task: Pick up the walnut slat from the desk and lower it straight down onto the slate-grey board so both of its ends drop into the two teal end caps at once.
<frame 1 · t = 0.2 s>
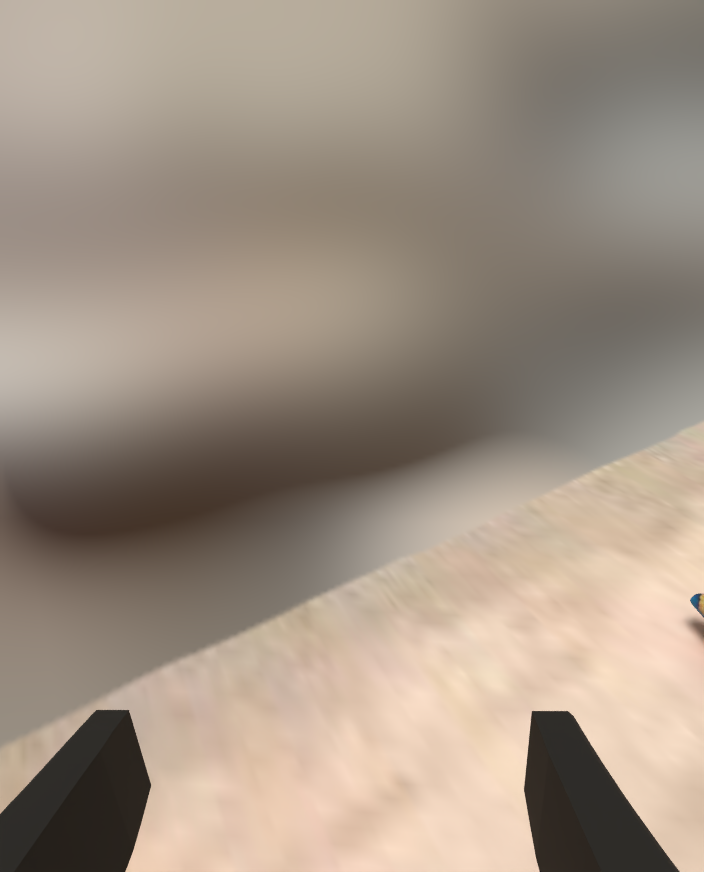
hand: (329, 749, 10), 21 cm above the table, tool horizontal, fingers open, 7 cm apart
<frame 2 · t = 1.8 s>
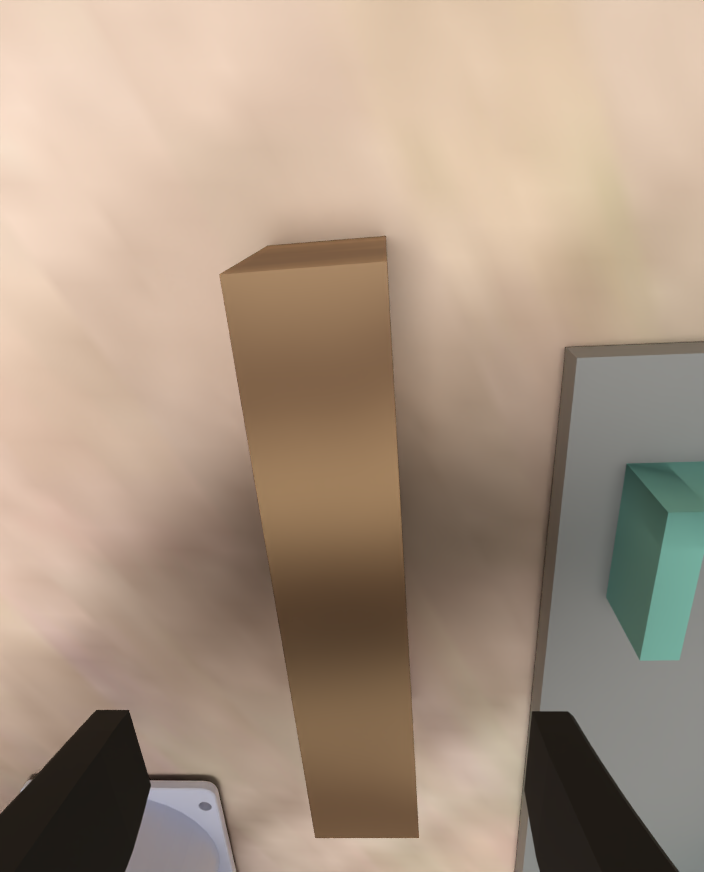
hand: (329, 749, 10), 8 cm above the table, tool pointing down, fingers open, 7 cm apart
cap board: (676, 702, 20), on the table
slat: (352, 508, 18), on the table
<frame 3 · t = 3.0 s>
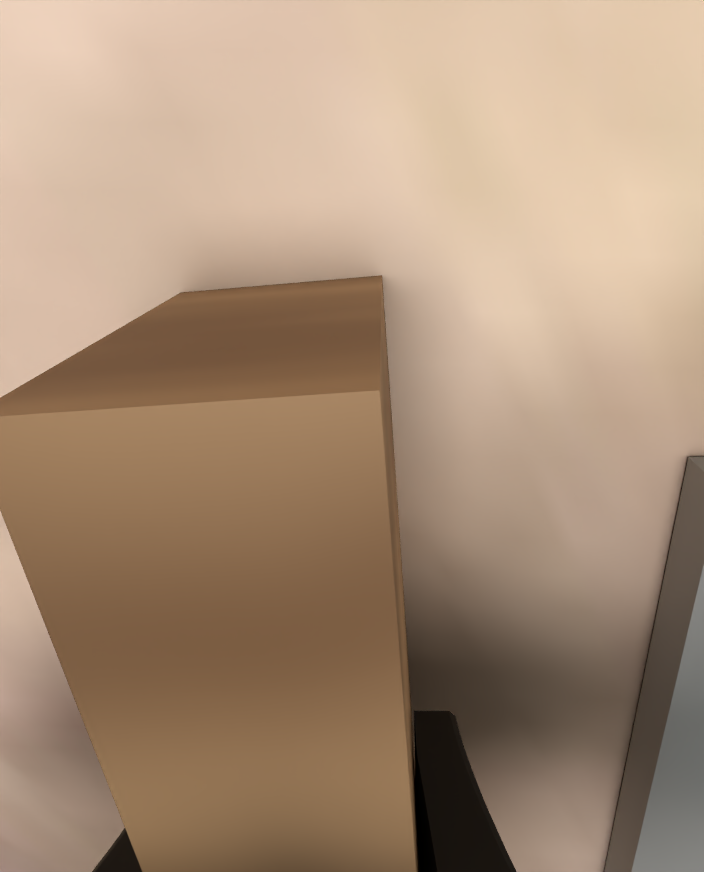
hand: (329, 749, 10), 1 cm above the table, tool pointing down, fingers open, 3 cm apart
slat: (335, 680, 12), on the table
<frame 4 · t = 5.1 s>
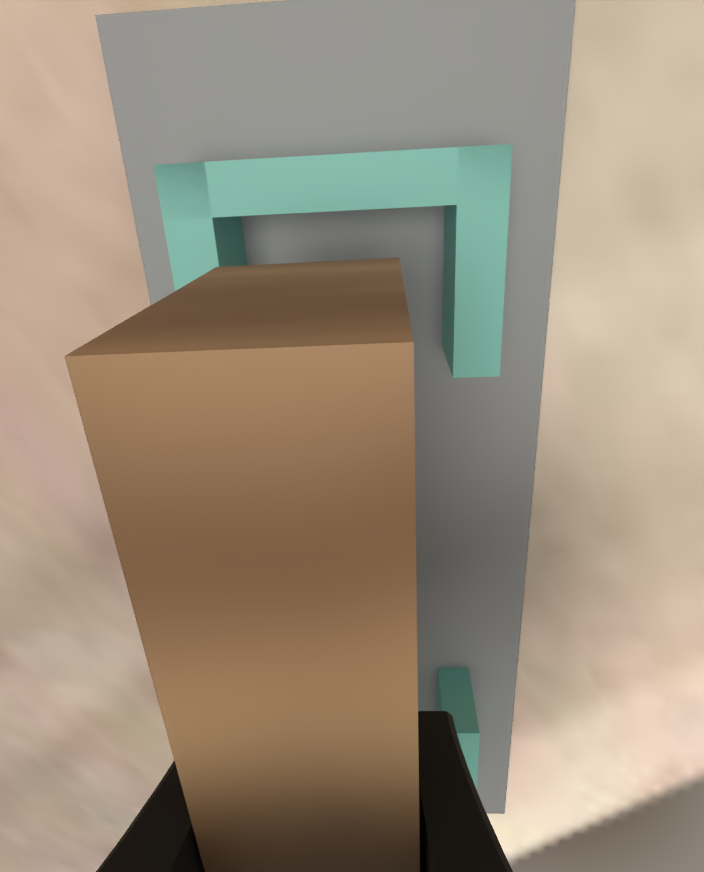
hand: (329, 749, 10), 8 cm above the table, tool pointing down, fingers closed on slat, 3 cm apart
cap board: (360, 511, 18), on the table
slat: (338, 637, 13), point 6 cm above the table, touching gripper
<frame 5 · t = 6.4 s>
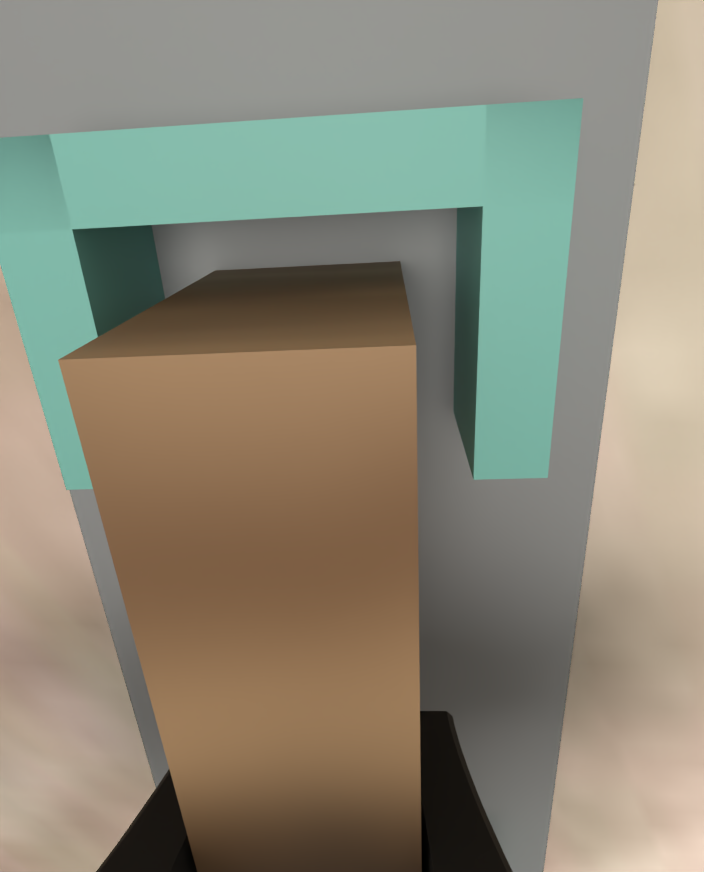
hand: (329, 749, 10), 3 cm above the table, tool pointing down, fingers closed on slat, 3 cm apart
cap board: (341, 617, 14), on the table
slat: (338, 645, 13), point 1 cm above the table, touching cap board, gripper
when the fingers open (3 cm above the table, at t = 6.8 s): slat stays where it is, resting on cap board.
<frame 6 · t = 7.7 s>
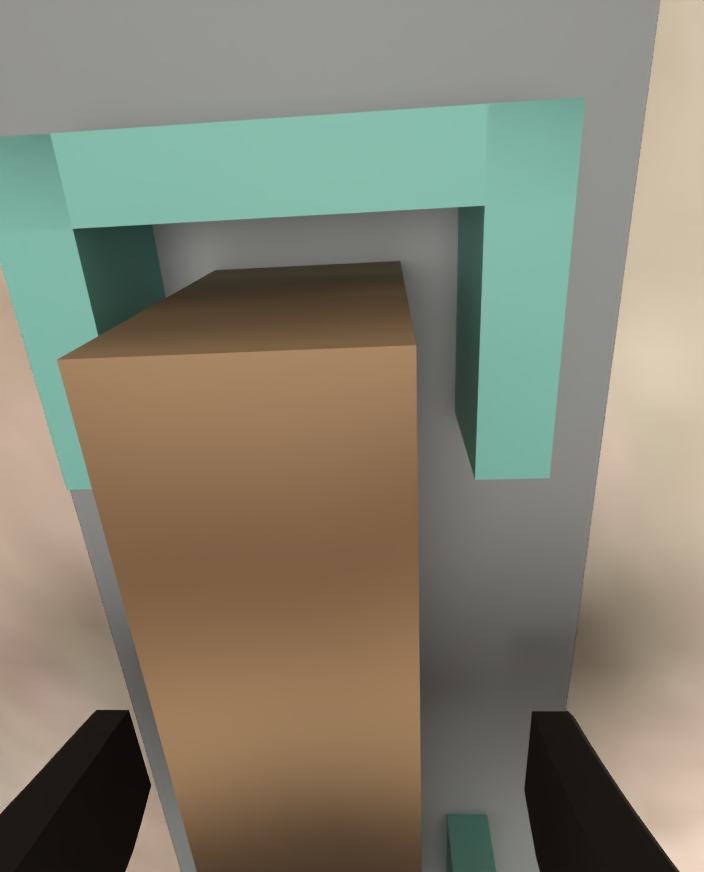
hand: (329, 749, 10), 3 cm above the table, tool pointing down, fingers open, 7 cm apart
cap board: (342, 617, 14), on the table
slat: (338, 645, 13), point 1 cm above the table, touching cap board
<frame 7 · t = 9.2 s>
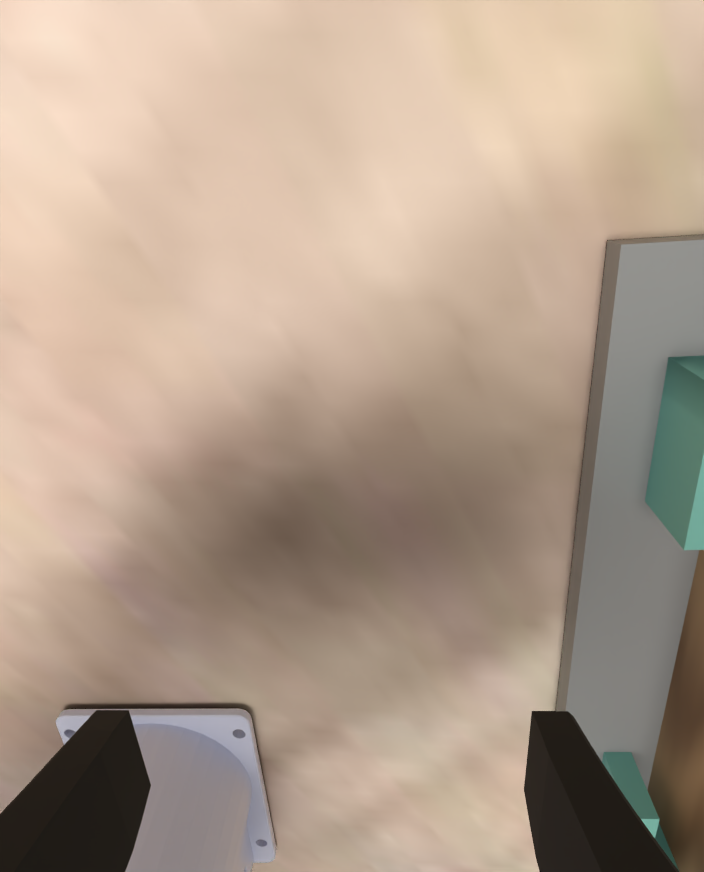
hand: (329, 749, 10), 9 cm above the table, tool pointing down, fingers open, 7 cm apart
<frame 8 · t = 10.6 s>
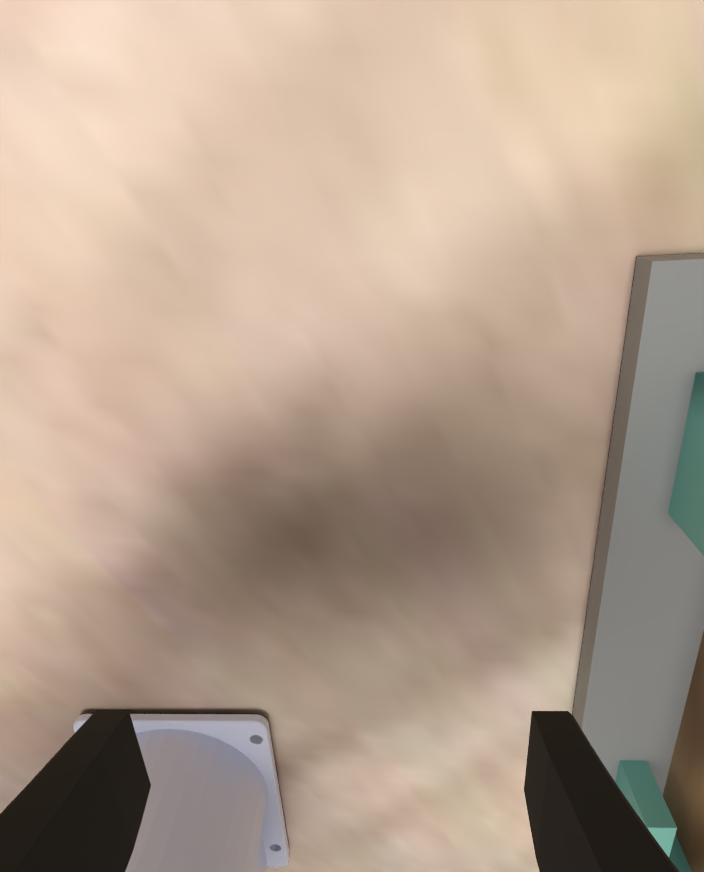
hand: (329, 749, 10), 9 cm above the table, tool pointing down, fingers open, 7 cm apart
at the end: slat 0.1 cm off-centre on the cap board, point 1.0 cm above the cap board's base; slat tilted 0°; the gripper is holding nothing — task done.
